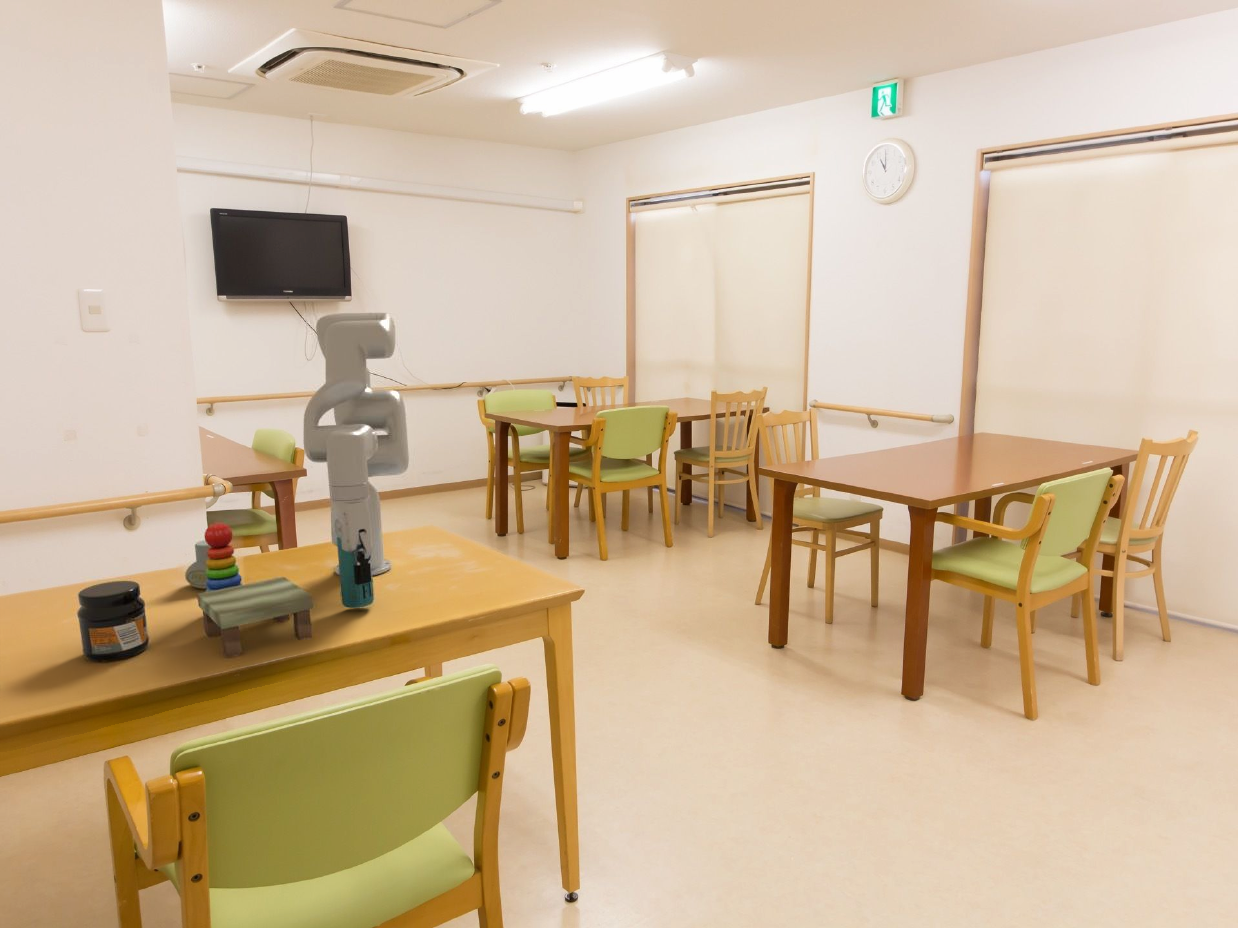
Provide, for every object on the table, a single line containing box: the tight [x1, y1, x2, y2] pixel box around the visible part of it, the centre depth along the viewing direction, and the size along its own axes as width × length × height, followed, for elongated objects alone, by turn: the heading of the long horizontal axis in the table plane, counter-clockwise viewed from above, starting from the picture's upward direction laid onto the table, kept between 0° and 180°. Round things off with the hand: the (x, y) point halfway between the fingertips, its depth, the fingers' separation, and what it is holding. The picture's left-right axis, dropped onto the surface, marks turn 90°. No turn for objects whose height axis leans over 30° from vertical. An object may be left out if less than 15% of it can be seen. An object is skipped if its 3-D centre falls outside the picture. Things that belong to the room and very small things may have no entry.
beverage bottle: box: [336, 537, 375, 609], centre depth 175 cm, size 6×7×20 cm
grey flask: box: [184, 539, 240, 590], centre depth 194 cm, size 11×8×10 cm
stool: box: [197, 576, 314, 659], centre depth 163 cm, size 16×16×8 cm
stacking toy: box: [204, 522, 244, 592], centre depth 175 cm, size 8×8×19 cm
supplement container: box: [76, 580, 150, 662], centre depth 156 cm, size 10×10×12 cm
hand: (356, 578), depth 176 cm, fingers closed on beverage bottle, 6 cm apart
